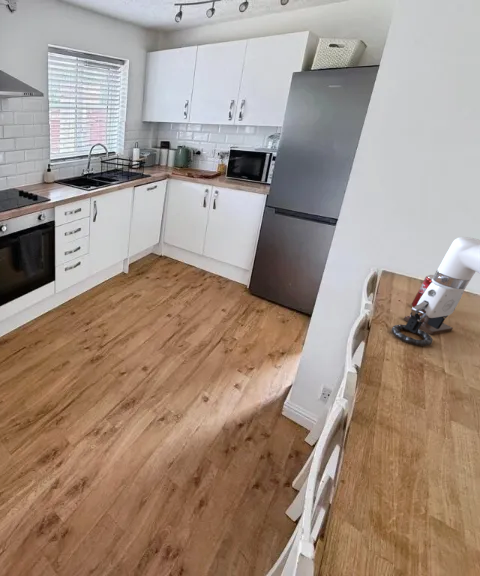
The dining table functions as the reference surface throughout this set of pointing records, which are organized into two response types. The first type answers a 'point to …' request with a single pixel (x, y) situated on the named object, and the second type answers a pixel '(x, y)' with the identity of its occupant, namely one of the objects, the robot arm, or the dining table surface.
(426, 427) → the dining table surface
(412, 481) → the dining table surface
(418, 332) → the ring
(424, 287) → the soda can
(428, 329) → the post
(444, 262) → the robot arm
